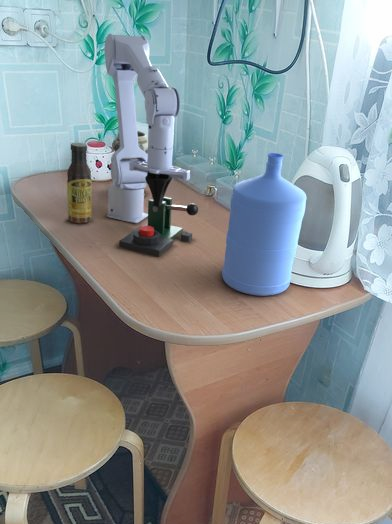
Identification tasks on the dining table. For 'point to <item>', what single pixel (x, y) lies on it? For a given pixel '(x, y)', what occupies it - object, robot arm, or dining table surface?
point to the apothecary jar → (141, 143)
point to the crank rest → (186, 237)
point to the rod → (183, 208)
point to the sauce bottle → (79, 185)
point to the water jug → (263, 232)
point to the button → (146, 231)
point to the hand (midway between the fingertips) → (158, 205)
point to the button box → (146, 243)
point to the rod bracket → (162, 220)
